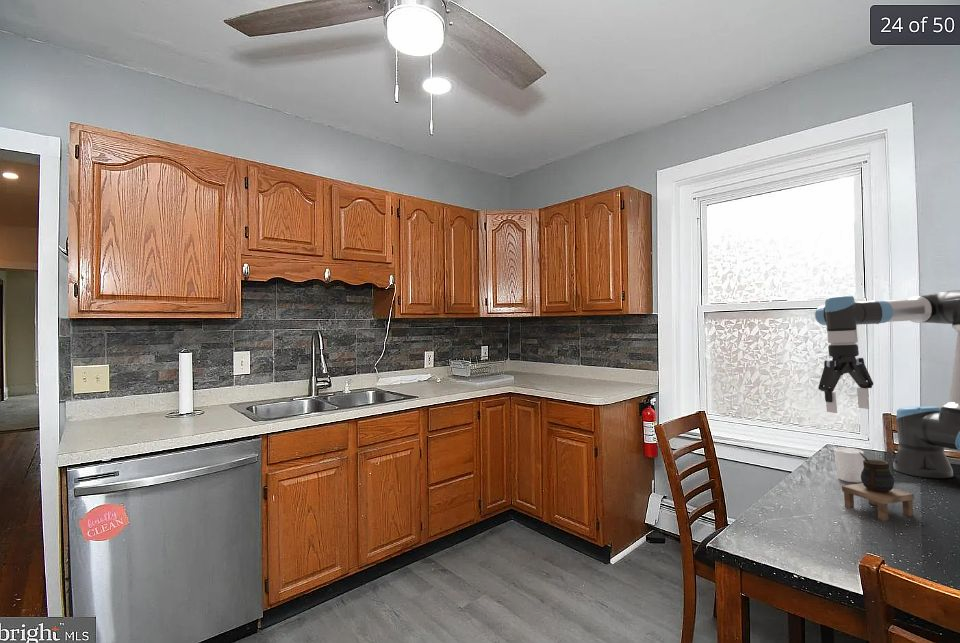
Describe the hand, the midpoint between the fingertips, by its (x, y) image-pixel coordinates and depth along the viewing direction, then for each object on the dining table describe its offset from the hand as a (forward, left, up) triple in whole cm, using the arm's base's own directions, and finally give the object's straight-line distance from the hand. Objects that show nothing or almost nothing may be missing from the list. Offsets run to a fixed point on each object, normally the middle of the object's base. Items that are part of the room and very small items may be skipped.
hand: (848, 410), depth 145 cm
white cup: (-11, -9, -26) cm, 30 cm away
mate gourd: (+9, +14, -20) cm, 26 cm away
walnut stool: (+9, +14, -26) cm, 31 cm away
